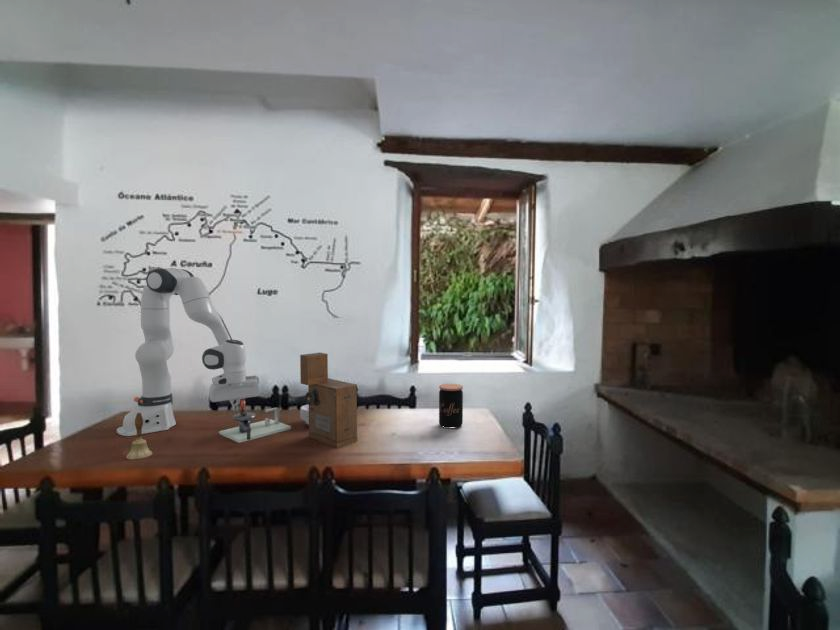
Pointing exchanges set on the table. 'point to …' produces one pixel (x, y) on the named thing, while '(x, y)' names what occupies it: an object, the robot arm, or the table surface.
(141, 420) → the hand bell
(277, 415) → the grey support bracket
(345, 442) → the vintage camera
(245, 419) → the telegraph key
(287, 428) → the board
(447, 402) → the coffee jar
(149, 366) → the robot arm
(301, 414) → the paper bowls
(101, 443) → the table surface
